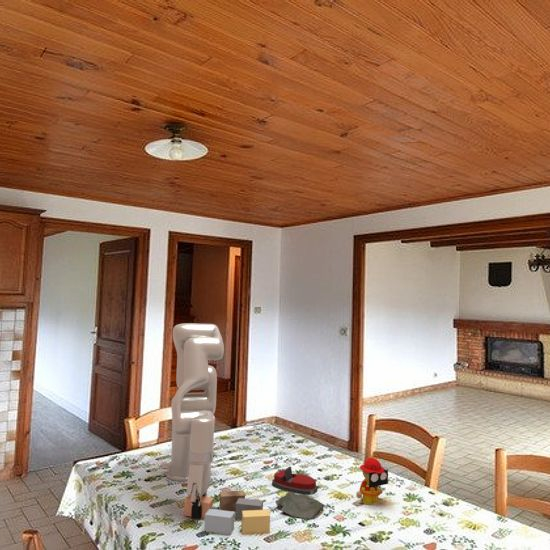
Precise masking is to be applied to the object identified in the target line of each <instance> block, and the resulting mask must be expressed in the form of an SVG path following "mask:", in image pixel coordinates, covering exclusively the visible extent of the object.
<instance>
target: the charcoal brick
mask: <svg viewBox="0 0 550 550" xmlns="http://www.w3.org/2000/svg"><path fill="white" fill-rule="evenodd" d="M248 510H264V500H261V499H260V500H259V499H250V498H245V499H242V498H239V499H238V501H237V502H236V511H235V516H234V520H236V519H238V521H242V511H248Z"/></svg>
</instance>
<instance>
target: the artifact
mask: <svg viewBox="0 0 550 550" xmlns="http://www.w3.org/2000/svg"><path fill="white" fill-rule="evenodd" d="M275 504H276V506H278V507H281V508H280V509H279V510H280V511H281V512H285V514H287V515H289V516H291V517H295V518H300V519H303V520H311V519H312V520H313V518H314V517H316V516H317V515H318V514H320V513H322V511H323V509H324V507H325V504H324V503H322V502H321V501H320V500H317V499H314V498H313V497H311V496H310V495H305V494H297V493H293V492H288V491H287V493H285V495H283V496H280V497H279V498H278V499H277V500H275Z"/></svg>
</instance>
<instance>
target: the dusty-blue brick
mask: <svg viewBox="0 0 550 550" xmlns="http://www.w3.org/2000/svg"><path fill="white" fill-rule="evenodd" d="M235 513H236V511H224V510H220V509H213V508H212V509H209V510H208V511H207V513H206V514H205V519H204V526H203V527H204V529H203V530H204V531H206V532H205V533H211V532H213V534H220V535H226V536H227V535H228V536H231V535H232V533H233V531H234V529H235Z"/></svg>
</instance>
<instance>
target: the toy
mask: <svg viewBox="0 0 550 550" xmlns="http://www.w3.org/2000/svg"><path fill="white" fill-rule="evenodd" d="M359 469H360V470H361V471H362V475H363V477H364V479H363V480H362V481H361V484H360V487H359V491H356V493H355V495H356V498H357V499H362V503H363V504H365V505H372V504H378V503H379V496H380V495H382V494H383V489H382V488H380V486H384V485H388V484H389V469H385V467H384V466H382V464H381V462H380V461H379V460H378V459H377V458H374V457H368V458H366V459H365V461H364V462H363V464H361V465H360V466H359Z"/></svg>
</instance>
